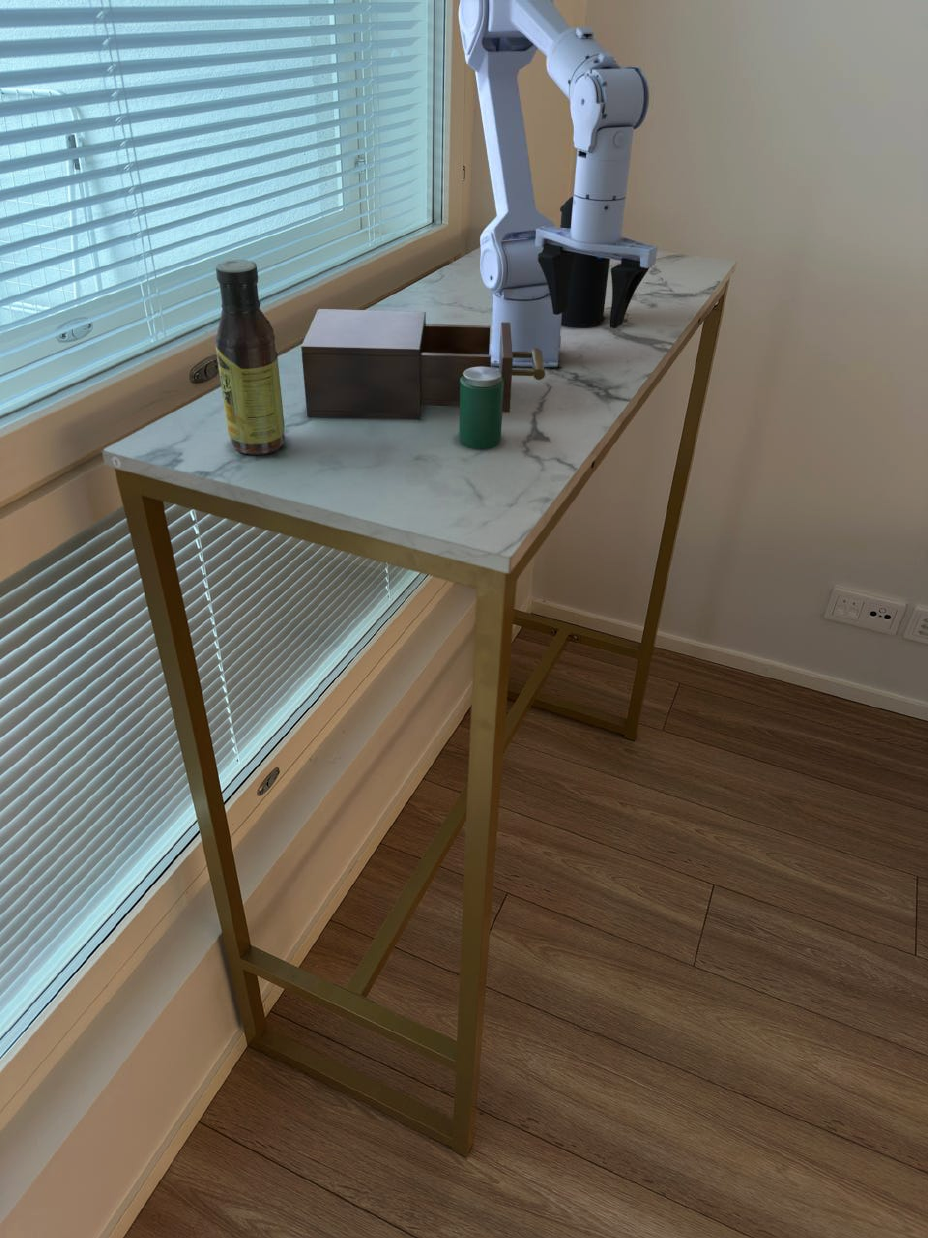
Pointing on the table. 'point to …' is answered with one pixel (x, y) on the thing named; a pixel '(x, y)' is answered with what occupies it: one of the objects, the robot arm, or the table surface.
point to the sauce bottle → (248, 363)
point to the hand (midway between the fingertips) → (587, 318)
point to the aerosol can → (584, 283)
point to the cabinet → (363, 364)
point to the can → (481, 408)
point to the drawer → (467, 361)
